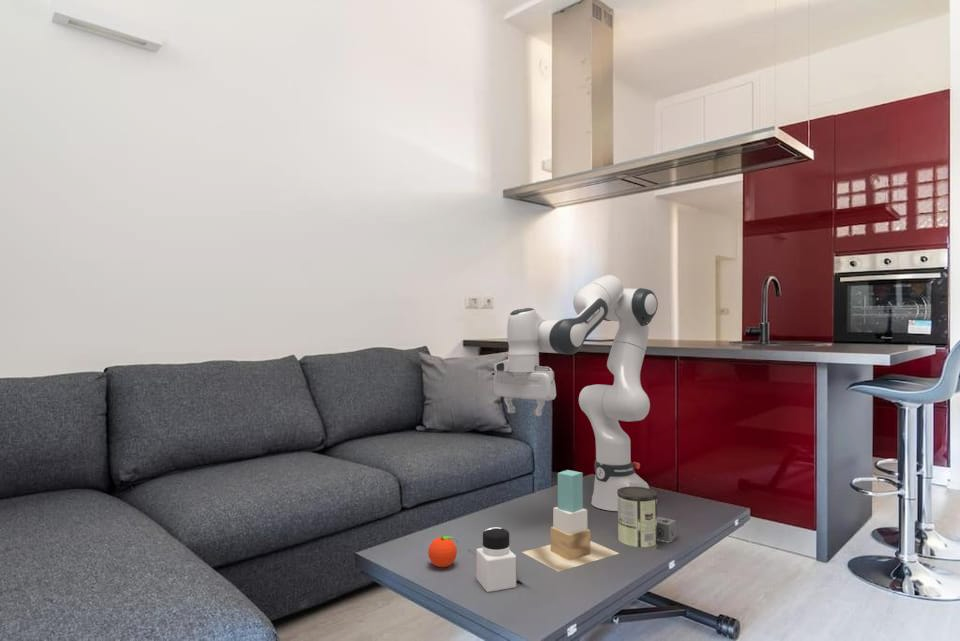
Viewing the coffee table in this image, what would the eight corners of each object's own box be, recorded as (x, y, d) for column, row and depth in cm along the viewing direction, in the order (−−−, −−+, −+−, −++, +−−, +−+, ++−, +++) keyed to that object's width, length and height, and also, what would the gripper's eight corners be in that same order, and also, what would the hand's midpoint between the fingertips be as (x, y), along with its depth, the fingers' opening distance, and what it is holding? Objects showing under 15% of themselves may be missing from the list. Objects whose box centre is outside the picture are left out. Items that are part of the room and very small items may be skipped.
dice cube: (669, 543, 153) (669, 525, 153) (651, 539, 156) (651, 521, 156) (676, 538, 157) (675, 520, 157) (658, 534, 160) (658, 516, 160)
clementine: (451, 557, 144) (451, 528, 144) (465, 566, 138) (465, 537, 138) (423, 564, 139) (423, 535, 139) (437, 574, 134) (437, 544, 134)
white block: (571, 523, 148) (571, 503, 148) (587, 529, 143) (587, 509, 143) (553, 527, 144) (553, 507, 145) (569, 534, 139) (569, 514, 140)
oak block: (571, 545, 148) (571, 522, 148) (590, 554, 142) (590, 530, 142) (550, 551, 144) (550, 527, 145) (569, 560, 139) (569, 535, 139)
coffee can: (628, 534, 160) (628, 484, 160) (664, 543, 153) (663, 491, 153) (610, 545, 152) (610, 491, 152) (646, 555, 145) (646, 499, 145)
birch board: (580, 541, 155) (580, 536, 155) (619, 558, 143) (619, 553, 143) (521, 556, 144) (521, 552, 144) (558, 576, 132) (558, 571, 132)
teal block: (567, 504, 147) (567, 469, 147) (582, 508, 144) (582, 472, 144) (557, 509, 144) (557, 473, 144) (572, 512, 140) (572, 476, 141)
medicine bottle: (516, 587, 127) (516, 533, 127) (486, 592, 124) (486, 537, 124) (504, 574, 133) (504, 523, 134) (476, 579, 131) (476, 526, 131)
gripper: (560, 365, 157) (561, 416, 157) (503, 363, 171) (504, 409, 171) (546, 367, 152) (547, 419, 152) (489, 365, 166) (490, 412, 166)
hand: (524, 414), depth 162 cm, fingers open, 8 cm apart
